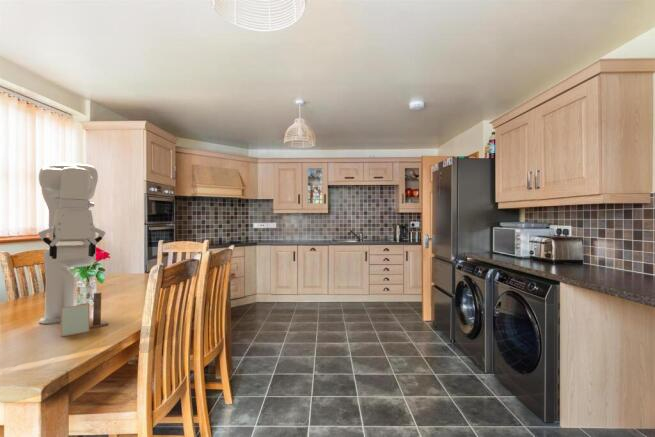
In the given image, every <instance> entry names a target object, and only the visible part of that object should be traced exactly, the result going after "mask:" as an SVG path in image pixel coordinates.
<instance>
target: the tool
mask: <svg viewBox="0 0 655 437" xmlns="http://www.w3.org/2000/svg"><path fill="white" fill-rule="evenodd" d="M92 307H93V310H92V312H93V313H92V323H89V330H90V329H93V328H100V327H106V326H109V321H107V320H105V321H102V320H101V319H102V318H101V317H102V292H95V293H93V306H92Z"/></svg>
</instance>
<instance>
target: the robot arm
mask: <svg viewBox="0 0 655 437" xmlns="http://www.w3.org/2000/svg"><path fill="white" fill-rule="evenodd" d="M98 175H99V174H98V170H97V169H96V168H95V167H94V166H93V165H89V164H82V163H72V162H59V163H57V164H55V165H44V166H42V167H41V168H40V170H39V173H38V181H39V186H40V187H41V194H42V197H43V199H44V202H45V204H46V207H47V209H48V228H47V229H44V230H41V231H39V232H38V233H37V234H38V235H39V238H40V239H41V240H42V241H43V242H44V243H45V244H47V245H48V246H49V247H47V248H46V249H45V250H44V251H43V261H44V262H43V263H44V269H45V292H44V294H45V295H44V300H45V301H44V317H41V318H39V323H40V324H42V325H51V324H52V325H53V324H61V308H63V307H70V306H75V293H76V292H75V289H76V288H75V287H76V286H75V285H76V284H75V283H76V282H75V281H76V278H75V275H74V273H72V272H71V271H70V270H69V269H68V268H77V267H78V268H79V267H89V266H93V265H94V264H95V262H96V258H97V256H96V255H97V248H96V247H97V246H96V245H97V244H99V242H101V241H102V240H103V237H105V235H106V232H105V231H104V230H102V229H100V228H97V227H96V226H95V224H94V219H93V218H94V217H93V212H92V210H91V209H90V208H91V207H92V208H94V207H95V203H94V202H91V201H90V200H92V199H93V198H94V195H95V191H96V187H97V183H98V181H99V176H98ZM96 233H97V234H98V235H97V234H96ZM47 235H48V236H47ZM96 235H97V236H96ZM48 237H49V238H48ZM58 243H82V244H66V245H65V244H60V245H57V244H58Z"/></svg>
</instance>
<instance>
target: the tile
mask: <svg viewBox="0 0 655 437" xmlns="http://www.w3.org/2000/svg"><path fill="white" fill-rule="evenodd" d="M89 324H90V303H87V304H79V305H74V306H70V307H63V308H61V323H60V337H67V336H73V335H79V334H85V333H90V329H89Z"/></svg>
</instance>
